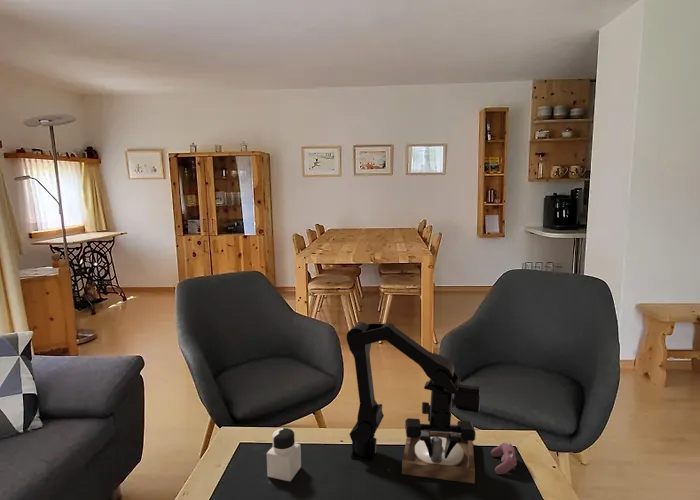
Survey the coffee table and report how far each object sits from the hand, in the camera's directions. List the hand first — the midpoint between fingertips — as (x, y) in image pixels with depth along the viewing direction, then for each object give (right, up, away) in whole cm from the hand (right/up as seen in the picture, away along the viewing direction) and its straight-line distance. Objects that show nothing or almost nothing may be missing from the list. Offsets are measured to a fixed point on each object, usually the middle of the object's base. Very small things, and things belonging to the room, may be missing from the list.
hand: (437, 457), depth 127 cm
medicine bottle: (-43, -4, 0) cm, 43 cm away
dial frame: (+1, -3, +5) cm, 6 cm away
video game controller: (+19, -3, +2) cm, 19 cm away
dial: (+1, -1, +5) cm, 5 cm away
